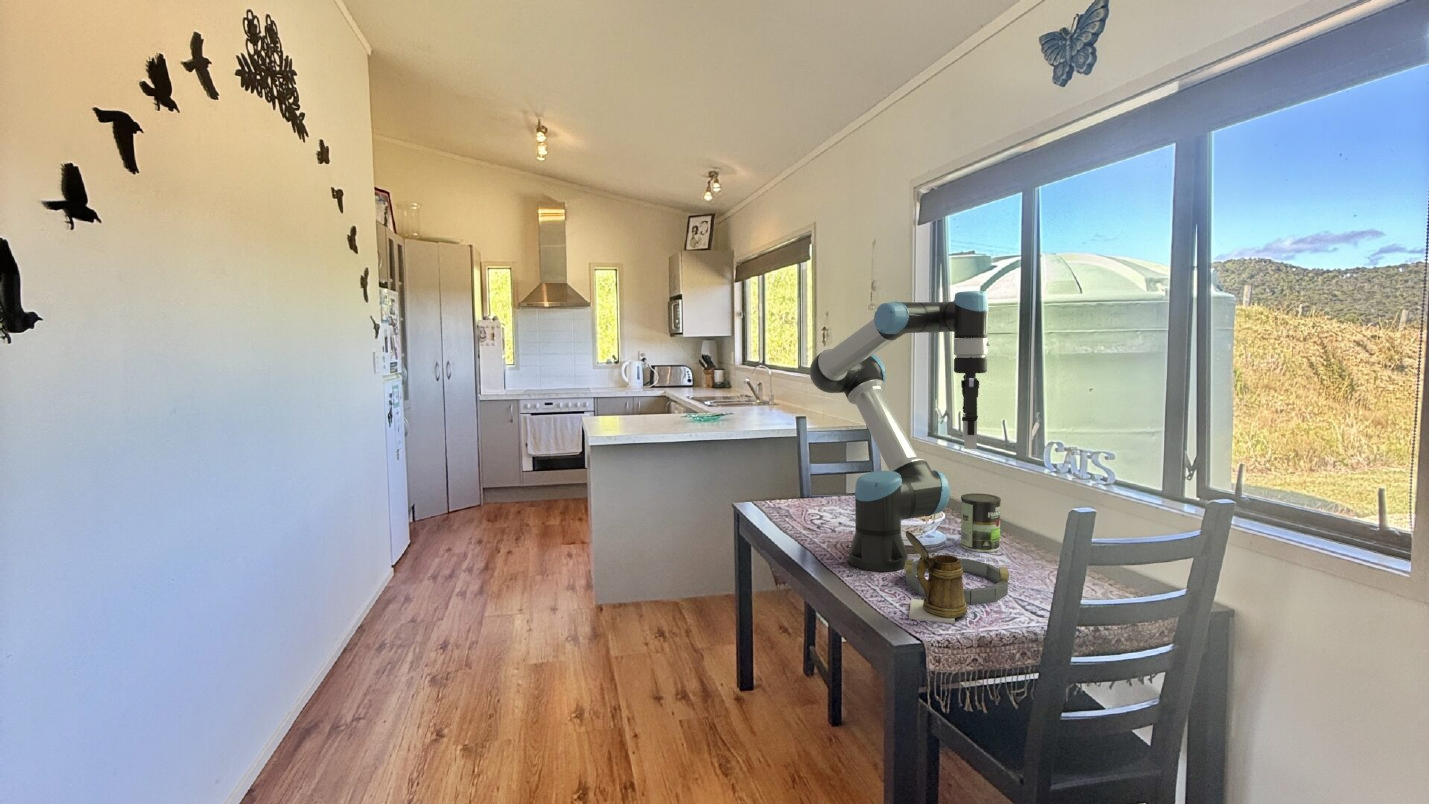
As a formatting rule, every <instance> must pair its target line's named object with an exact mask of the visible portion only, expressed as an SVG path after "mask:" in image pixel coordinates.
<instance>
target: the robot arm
mask: <svg viewBox="0 0 1429 804" xmlns="http://www.w3.org/2000/svg"><path fill="white" fill-rule="evenodd" d="M988 299H989V298H988V293H987V292H986V291H984V290H983V291H982V290H968V291H966V290H965V291H959V292H958V291H957V292H956V293H955V294H954V298H953V300H952V301H931V302H930V301H927V302H925V301H924V302H923V301H922V302H920V301H918V302H917V301H916V302H913V301H912V302H909V301H904V302H903V301H890V302H883V303H881V304H880V305H878V306H877V308H876V311H875V312H874V315H873V319H872V320H870V321H869V322H868V323H867V322H866V324H865V325H863V326H862V327H860V328H859V329H858V330H857V331H855V332H853V333H852V334H851V335H850V336H849V337H848V336H847V338H845V339H844V340H842V341H841V342H840V343H838V344H837V345H836V346H834V347H833V348H828V349H824V350H823V351H822V352H820V353H819V354H817V355H816V356H815V357H814V359H813V360H812V362H811V364H810V367H809V376H810V379H811V382H812V384H813V385H814V386H815V387H816V388H817V389H819V390H820V391H822V392H824V393H828V394H839V393H842V394H844V395H845V397H846V399H847V400H848V402H849V403H850V404H852V405H856V406H857V409H858V411H859V413H860V415H861V417H862V419H863V421H864V422H865V424H866V427H867V428H868V431H869V433H870V435H871V437H872V439H873V441H874V443H875V445H876V447H877V449H878V451H879V453H880V455H881V456H882V459H883V461H884V463H885V464H886V466H887V469H888V470H881V471H879V470H875V471H870V472H866V473H863V474H861V475H860V476H859V477H858V478H857V480H856V481H855V491H854V499H855V504H854V505H855V507H854V508H855V509H854V510H855V517H854V518H855V520H854V521H855V522H854V523H855V532H854V536H853V539H852V542H851V545H850V548H849V550H848V562H849V564H851V565H853V566H854V567H856V568H859V569H862V570H866V571H874V572H893V571H898V570H902V569H905V560H906V559H909V555H908V551H907V548H906V545H905V543H904V539H903V536H902V521H903V520H909V519H917V518H923V517H930V516H933V515H937V514H940V513H941V512H943V511H944V510H945V509H946V507H947V506H948V504H949V501H950V495H951V489H950V484H949V481H948V479H947V477H946V476H945V474H944V473H943V472H941V471H938V470H935V469H934V470H932V468H931V467H930V465H929V464H928V461H927V460H926V459H924V458H921V457H918V454H917V452H916V451H915V449H914V448H913V446H912V443H911V441H910V440H909V438H908V436H907V434H906V433H905V431H904V428H903V427H902V425H901V423H900V421H899V420H898V418H897V415H896V413H895V411H894V409H893V408H892V406H891V405H890V402H889V401H888V398H887V397H886V395H885V392H884V390H885V386H886V384H885V383H886V378H887V374H885V372H886V367H885V364H884V363H883V361H882V360H881V359H880V357H879V356H877V355H875V354H876V353H877V352H879V351H880V350H882V349H883V348H885V347H886V346H888V345H890V344H891V343H892V342H893V341H896V340H897V339H899V338H901V337H902V336H903V335H905V334H918V333H919V334H920V333H922V334H923V333H927V334H928V333H930V334H934V333H935V334H937V333H938V334H939V333H949V332H952V333H954V334H953V335H954V336H953V355H954V356H956V357H955V358H954V359H953V372H954V373H956V374H963V379H961V382H960V387H961V395H962V397H963V399H962V400H963V402H962V412H963V413H962V417H961V421H962V441H964V443H963V444H964V445H963V447H964V448H963V449H964V450H965V449H966V450H968V449H969V450H977V447H978V417H979V416H978V398H979V389H980V380H979V379H978V378H977V376H976V375H977V374H986V373H987V371H988V358H987V357H986V356H985V355H987V354H988V347H990V346H991V343H990V341H988V330H989V329H988V326H989V310H990V309H989V300H988Z"/></svg>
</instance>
